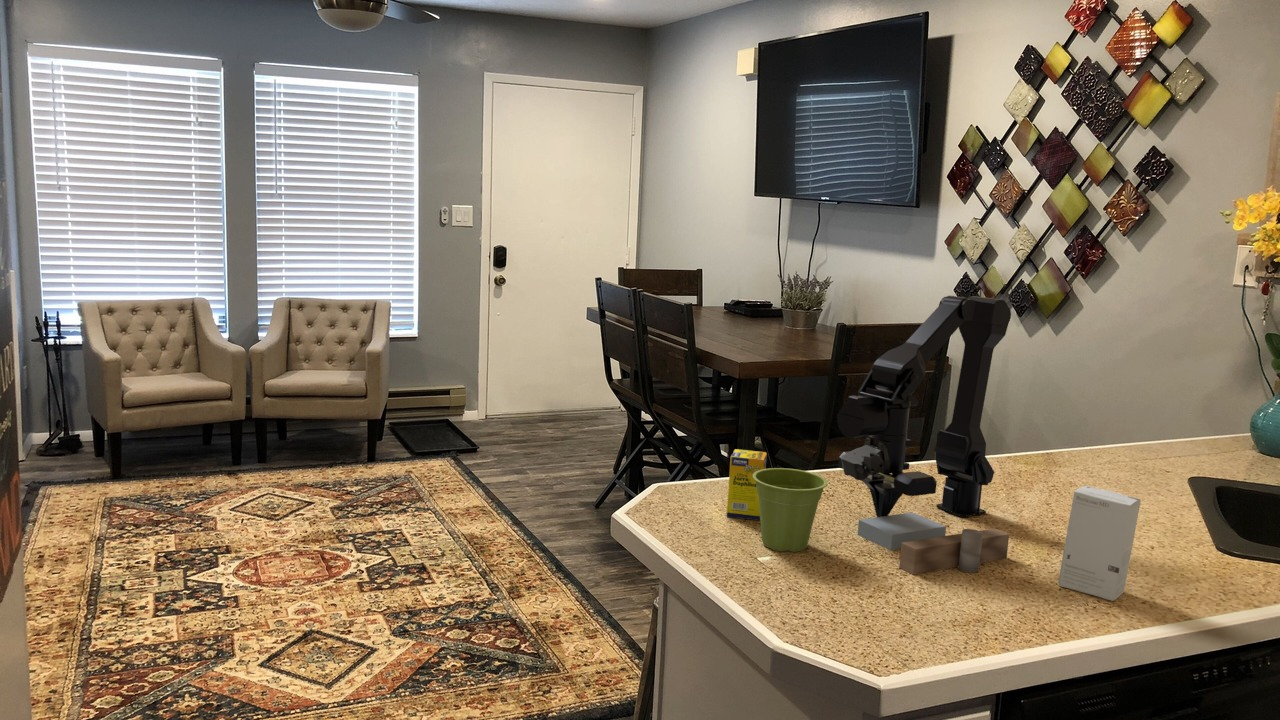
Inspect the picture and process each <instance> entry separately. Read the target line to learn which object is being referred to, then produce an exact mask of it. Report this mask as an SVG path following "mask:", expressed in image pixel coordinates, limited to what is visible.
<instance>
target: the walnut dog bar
mask: <svg viewBox="0 0 1280 720" xmlns="http://www.w3.org/2000/svg"><path fill="white" fill-rule="evenodd" d="M1009 539H1010V534H1009V533H1007V532H1005V531H1003V530H1000V529H997V528H988V529H982V530H978V529H977V530H976V529H973V528H972V529H971V528H965V529H962V531H961V533H956V534H949V535H945V536H942V537H936V538H929V539H923V540H916V541H910V542H903V543H901V549H900V556H899V557H900V558H899V565H898V568H899V569H901V570H903V571H905V572H907V573H909V574H911V575H917V574H924V573H929V572H935V571H941V570H947V569H952V568H957V569H958V570H959V571H961V572H965V573H968V574H975V573H979V569H980V563H981V564H982V563H987V562H991V561H998V560H1002V559H1004V560H1005V559H1007V558H1008V549H1009V541H1010V540H1009Z"/></svg>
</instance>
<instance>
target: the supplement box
mask: <svg viewBox="0 0 1280 720" xmlns="http://www.w3.org/2000/svg"><path fill="white" fill-rule="evenodd" d="M767 455H768V454H767V452H766V451H755V450H749V449H739V448H737V449H736V448H735V449H734V450H733V453H732V454H731V455H730V457H729V458H730V461H729V474H728V475H729V478H728V491H727V503H726V505H727V507H726V517H729V518H737V519H746V520H753V521H760V509H759V498H758V493H757V488H756V481H755V480H754V479H753V474H754V473H755V472H756V471H759V470H763V469H767V468H766V467H767V457H768V456H767Z"/></svg>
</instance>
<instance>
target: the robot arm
mask: <svg viewBox="0 0 1280 720" xmlns="http://www.w3.org/2000/svg"><path fill="white" fill-rule="evenodd" d="M1011 318H1012V311H1011V308H1010V307H1009V305H1008V302H1006V301H1005V300H1004V299H1000V298H993V297H985V296H984V297H983V296H975V295H972V296H971V295H970V296H969V297H962V296H955V295H947V296H943V297H942V298H941V300H940V302H939V303H938V306H937V307H936V309H935V310H934V311H932V313H931V314H930V315H929V316H928V318H926V319H925V320H924V322H922V323H921V325H919V327H918V328H917V329H916V331H914V333H912V334H911V335H910V337H909V338H908V339H907V340H906V342H904V343H903V344H902V345H899V346H896V347H894V348H892V349H889V350H887V351H886V352H884V353H883V354H882V355H880V356H879V357H878V358H877V359H876V360H875V361H874V363H873V364H872V366H871V369H870V370H869V372H868V374H867V375H866V377H865V379H864V381H863V382H862V384H861V386H860V387H859V389H858V391H857V395H849V396H848V401H847V402H848V403H845V404H844V405H842V407H841V408H840V409H839V412H838V413H837V416H836V422H837V426H838V429H839V430H840V432H841V434H842V435H843V436H844V437H846V438H848V439H854V438H862V437H865V438H864V444H863V446H861V447H857V448H855V449H853V450H851V451H843V452H842V453H841V454H840V455H839V457H838V465H837V466H838V468H839V469H842V470H843V473H844V476H847V477H848V476H849V477H852V478H853V479H855V480H856V481H861V482H862V483H864V485H865V486H866V487H867V488H868V489H869V492H870V496H871V499H872V502H873V506H874V507H873V508H874V511H875V515H876V517H882V516H889V515H890V513H891V512H892V510H893V509H894V507H895V505H896V504H897V502H898V501H899V500H900V498H901V497H902V495H905V496H909V497H917V496H924V495H925V496H926V495H933V494H934V495H935V494H937V493H936V492H937V482H938V481H937V480H936V478H935V476H933V475H930V474H927V473H925V472H923V471H920V470H915V471H907V470H910V463H909V462H906V461H905V458H906V457H905V456H906V447H912V442H913V440H912V439H909V438H908V428H909V427H908V426H909V415H910V407H914V406H918V405H919V401H918V399H916V397H914V396H913V394H914V393H915V391H916V390H917V389H918V387H919V386H920V384H921V382H922V381H924V378H925V376H926V366H927V365H928V363H929V361H930V360H931V359H932V358H933V357H934V356H935V354H937V352H938V351H939V350H940V349H941V348H942V347H943V345H944V344H946V342H947V341H948V340H949V339H950V337H951V336H953V334H954V333H955V332H956V331H957V330H959V333H960V335H961V337H962V341H963V343H964V346H963V347H964V348H963V354H962V359H961V366H960V372H959V376H958V382H957V389H956V394H955V400H954V405H953V406H954V407H953V412H952V415H951V416H952V417H951V422H950V423H949V425H947V427H946V428H945V429H944V430H942V429H940V430H938V432H937V435H936V443H935V446H934V449H933V452H934V455H935V456H934V460H935V462H936V463H935V464H936V470H937V474H938V475H942V476H944V477H945V476H946V477H945V480H944V486H943V490H942V491H943V492H942V499H941V503H937V504H936V505H935V507H936V508H938V509H940V510H943V511H946V512H948V513H950V514H953V515H955V516H957V517H961V518H962V517H970V516H971V517H972V516H977V515H984V514H987V511H986V509H982V508H980V507H981V498H982V490H983V486H989V484H991V483H992V481H993V479H994V475H995V471H994V469H993V467H992V465H991V464H990V462H989V460H988V458H987V457H986V451H987V450H986V449H987V442H986V440H985V436H984V434H983V431H982V429H981V422H982V417H983V410H984V404H985V399H986V395H987V387H988V383H989V377H990V371H991V365H992V359H993V353H994V349H995V348H996V346H997V345H998V344H999V343H1000V342H1001V341H1002V340H1003V339H1004V337H1005V336H1006V335H1007V334H1006V333H1007V332H1008V331H1007V330H1008V327H1009V324H1010V321H1011ZM904 471H907V472H904Z"/></svg>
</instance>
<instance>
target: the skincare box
mask: <svg viewBox="0 0 1280 720" xmlns="http://www.w3.org/2000/svg"><path fill="white" fill-rule="evenodd" d="M1071 501H1072V502H1071V507H1070V513H1069V518H1068V525H1067V531H1066V534H1065V535H1066V536H1065V541H1064V542H1065V543H1064V548H1063V552H1062V558H1061V559H1062V560H1061V564H1060V569H1059V575H1058V576H1059V577H1058V586H1059V587H1061V588H1065V589H1070V590H1073V591H1075V592H1080V593H1083V594H1087V595H1091V596H1095V597H1098V598H1101V599H1105V600H1107V601H1113V602H1114V601H1116V600H1117V599H1118V598H1119V597H1120V596H1122V594H1124V592H1125V588H1126V583H1127V578H1128V573H1129V572H1128V571H1129V566H1130V562H1131V555H1132V551H1133V543H1134V540H1135V534H1136V529H1137V522H1138V518H1139V512H1140V507H1141V501H1142V500H1141V498H1138V497H1134V496H1131V495H1126V494H1123V493H1120V492H1119V493H1118V492H1116V491H1112V490H1109V489H1102V488H1098V487H1094V486H1089V485H1083V486H1082V487H1080V488H1079V487H1078V489H1075V490H1074V492H1073V497H1072V500H1071Z"/></svg>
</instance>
